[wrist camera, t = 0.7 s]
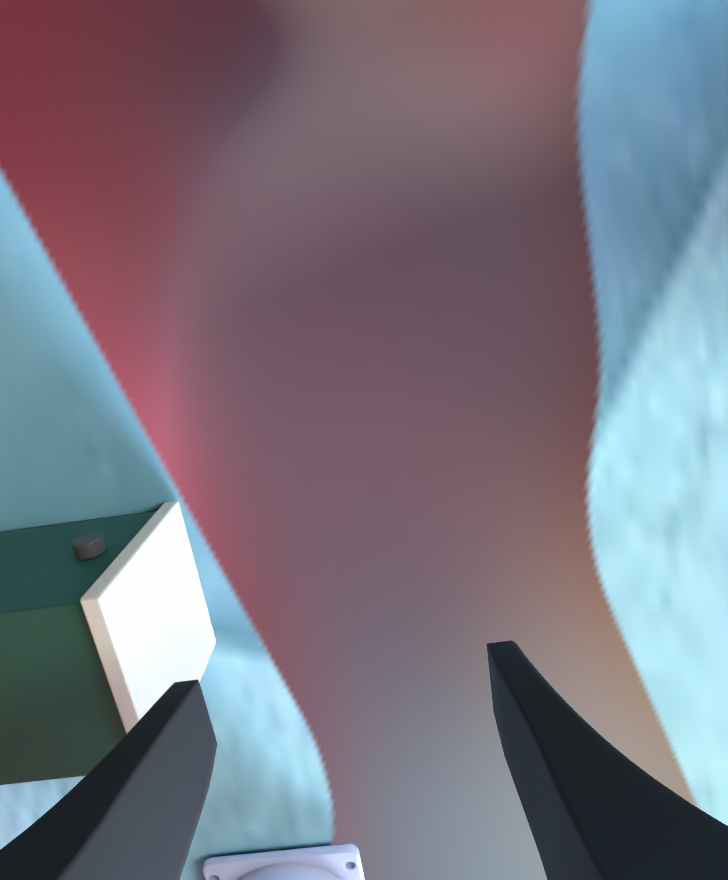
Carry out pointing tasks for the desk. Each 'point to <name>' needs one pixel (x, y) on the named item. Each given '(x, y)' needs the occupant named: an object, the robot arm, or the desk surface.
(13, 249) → the desk surface
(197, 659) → the green and cream block
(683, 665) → the desk surface
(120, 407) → the desk surface
